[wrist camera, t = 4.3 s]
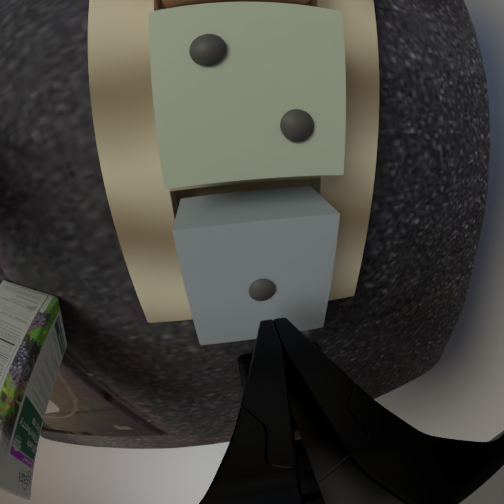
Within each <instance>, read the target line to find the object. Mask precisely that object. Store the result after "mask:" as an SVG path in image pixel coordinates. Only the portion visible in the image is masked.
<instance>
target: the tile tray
mask: <svg viewBox="0 0 504 504" xmlns="http://www.w3.org/2000/svg"><path fill="white" fill-rule="evenodd" d="M305 5H307V6H314V7H321V8H327V9H332V10H337V11H342V19H343V31H344V46H345V68H346V134H345V157H344V174H343V175H318V176H295V177H278V178H264V179H251V180H240V181H229V182H219V183H210V184H202V185H194V186H186V187H178V188H171V189H165V188H164V182H163V176H162V169H161V163H160V156H159V148H158V141H157V133H156V124H155V115H154V105H153V94H152V81H151V66H150V45H149V12H152V11H157V10H162V9H166V8H165V6H164V4H163V2H162V0H90V1H89V17H88V67H89V84H90V96H91V106H92V115H93V123H94V130H95V137H96V143H97V149H98V155H99V160H100V165H101V170H102V175H103V180H104V185H105V189H106V193H107V198H108V202H109V206H110V210H111V214H112V217H113V221H114V225H115V228H116V232H117V235H118V239H119V242H120V246H121V249H122V252H123V255H124V258H125V261H126V264H127V267H128V270H129V273H130V276H131V279H132V282H133V285H134V287H135V290H136V293H137V296H138V298H139V301H140V304H141V306H142V309H143V311H144V314H145V316H146V319H147V321H148V323H154V322H167V321H179V320H190V319H193V318H192V314H191V310H190V306H189V302H188V298H187V294H186V290H185V286H184V282H183V278H182V274H181V269H180V265H179V260H178V256H177V251H176V247H175V242H174V237H173V232H172V230H173V226H174V222H175V218H176V214H177V211H178V207H179V203H180V199H181V198H188V197H196V196H205V195H213V194H223V193H232V192H242V191H253V190H265V189H278V188H293V187H310V186H311V187H312V188H313V189H315V190H316V191H317V192H318V193H319V194H320V195H321V196H322V197H323V198H324V199H325V200H326V201H327V202H328V203H329V204H330V205H331V206H332V207H333V208H335V209H336V210H337V211H338V212H339V213H340V219H339V228H338V237H337V245H336V253H335V260H334V267H333V274H332V280H331V286H330V292H329V298H328V301H329V300H335V299H340V298H345V297H350V296H354V294H355V289H356V285H357V281H358V276H359V271H360V267H361V262H362V257H363V252H364V246H365V241H366V235H367V229H368V223H369V217H370V210H371V203H372V195H373V187H374V178H375V168H376V157H377V144H378V126H379V57H378V40H377V28H376V18H375V10H374V2H373V0H310V1H309V2H307V3H306V4H305Z"/></svg>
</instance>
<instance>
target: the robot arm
mask: <svg viewBox="0 0 504 504" xmlns="http://www.w3.org/2000/svg"><path fill="white" fill-rule="evenodd" d="M238 363H239V370H240V376H241V383H242V389H243V399H242V403H241V408H240V410H239V415H238V419H237V422H236V426H235V429H234V432H233V435H232V438H231V440H230V443H229V446H228V448H227V451H226V453H225V455H224V457H223V460H222V462H221V464H220V466H219V468H218V471H217V473H216V475H215V477H214V479H213V482H212V483H211V485H210V487H209V489H208V491H207V493H206V494H205V496H204V498H203V499H202V500H201V502H200V503H199V504H504V431H503V432H501V433H500V434H499V435H497V436H496V437H494V438H493V439H492V440H490V441H489V442H473V441H463V440H455V439H447V438H441V437H435V436H430V435H427V434H425V433H422V432H420V431H418V430H417V429H415V428H414V427H412V426H410V425H409V424H407V423H406V422H405V421H403V420H401V419H400V418H399V417H397V416H396V415H394V414H393V413H391V412H390V411H389V410H387V409H386V408H384V407H383V406H382V405H380V404H379V403H378V402H376V401H375V400H374V399H373V398H371V397H370V396H369V395H368V394H367V393H366V392H364V391H363V390H362V389H361V388H360V387H359V386H358V385H357V384H354V381H352V380H351V379H350V378H349V377H348V376H347V375H346V374H345V373H344V372H343V371H342V370H341V369H340V368H338V367H337V366H336V365H335V364H334V363H333V362H332V361H331V360H330V359H329V358H328V357H327V356H326V355H325V354H324V353H323V352H322V351H320V350H319V348H318V346H317V344H313V343H312V342H311V341H310V340H309V339H308V338H307V337H306V336H305V335H304V334H303V333H302V332H301V331H300V330H298V329H297V328H296V327H295V326H294V325H293V324H292V323H291V322H290V321H289V320H288V319H287V318H285V317H282V318H276V319H274V320H272V319H269V320H262V321H260V324H259V329H258V333H257V338H256V342H255V347H254V351H253V354H248V355H242V356H240V357H239V358H238Z"/></svg>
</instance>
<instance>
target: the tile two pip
mask: <svg viewBox="0 0 504 504" xmlns="http://www.w3.org/2000/svg"><path fill="white" fill-rule="evenodd" d="M149 45H150V66H151V81H152V94H153V105H154V115H155V124H156V133H157V141H158V148H159V156H160V163H161V169H162V176H163V182H164V188H165V189H171V188H178V187H186V186H194V185H202V184H210V183H219V182H229V181H240V180H251V179H264V178H278V177H295V176H318V175H343V174H344V157H345V134H346V68H345V46H344V31H343V19H342V11H337V10H332V9H327V8H321V7H314V6H307V5H299V4H289V3H275V2H218V3H205V4H195V5H187V6H180V7H173V8H167V9H162V10H157V11H152V12H149Z"/></svg>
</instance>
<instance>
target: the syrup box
mask: <svg viewBox="0 0 504 504" xmlns="http://www.w3.org/2000/svg"><path fill="white" fill-rule="evenodd" d="M66 348H67V340H66V337H65V331H64V326H63V321H62V316H61V310H60V305H59V299H58V298H57V297H55V296H52V295H48V294H45V293H42V292H39V291H36V290H33V289H30V288H26V287H24V286H21V285H17V284H14V283H11V282H8V281H6V280H3V282H2V283H1V284H0V489H1V490H3V491H6V492H8V493H10V494H13V495H16V496H19V497H21V498H24V499H27V500H30V495H31V484H32V475H33V468H34V462H35V456H36V451H37V446H38V441H39V437H40V432H41V428H42V424H43V420H44V416H45V412H46V409H47V405H48V402H49V398H50V395H51V392H52V388H53V385H54V382H55V379H56V376H57V373H58V370H59V367H60V364H61V361H62V358H63V355H64V353H65V350H66Z"/></svg>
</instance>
